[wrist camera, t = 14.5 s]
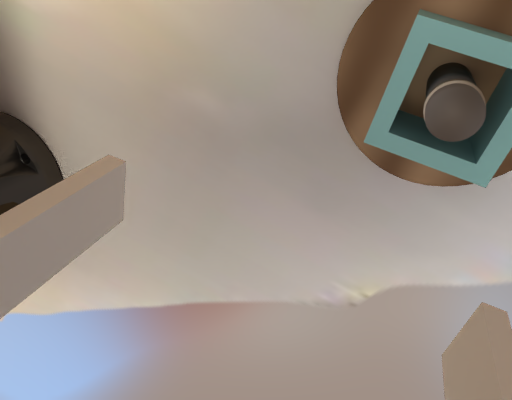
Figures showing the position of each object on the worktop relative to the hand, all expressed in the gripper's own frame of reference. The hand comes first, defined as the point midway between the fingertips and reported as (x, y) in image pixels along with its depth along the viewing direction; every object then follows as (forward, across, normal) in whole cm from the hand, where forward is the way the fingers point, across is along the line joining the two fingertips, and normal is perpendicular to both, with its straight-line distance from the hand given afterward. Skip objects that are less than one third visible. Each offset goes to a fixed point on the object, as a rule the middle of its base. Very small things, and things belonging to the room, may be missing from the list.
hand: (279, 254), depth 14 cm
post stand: (+22, +6, +4) cm, 23 cm away
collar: (+21, +6, +4) cm, 22 cm away
